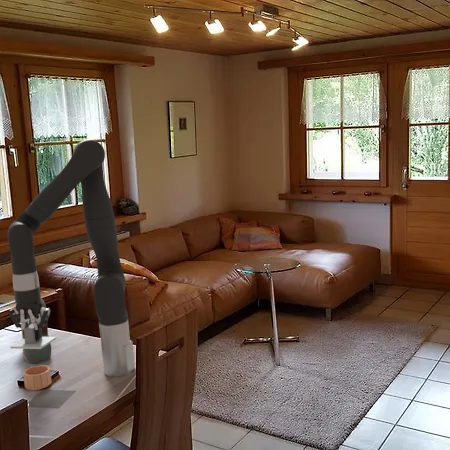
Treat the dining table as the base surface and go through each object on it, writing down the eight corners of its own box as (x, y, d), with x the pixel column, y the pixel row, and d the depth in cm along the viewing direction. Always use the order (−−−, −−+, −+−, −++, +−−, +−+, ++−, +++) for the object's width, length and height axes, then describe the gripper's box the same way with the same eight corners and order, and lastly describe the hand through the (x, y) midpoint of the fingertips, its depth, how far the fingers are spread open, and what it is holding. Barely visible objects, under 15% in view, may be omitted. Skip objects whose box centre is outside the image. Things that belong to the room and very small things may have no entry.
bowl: (56, 380, 188) (54, 365, 187) (43, 391, 180) (41, 376, 180) (33, 379, 190) (31, 364, 189) (20, 390, 182) (18, 375, 181)
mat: (76, 392, 179) (75, 390, 179) (58, 409, 168) (58, 408, 168) (43, 390, 181) (42, 389, 181) (23, 407, 170) (23, 406, 170)
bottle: (51, 362, 203) (41, 278, 198) (23, 366, 201) (13, 281, 196) (53, 352, 212) (44, 271, 207) (27, 355, 210) (17, 274, 205)
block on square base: (56, 338, 187) (55, 321, 186) (40, 349, 177) (39, 331, 176) (27, 338, 189) (26, 321, 188) (10, 348, 179) (8, 330, 178)
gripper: (53, 282, 182) (59, 336, 185) (12, 283, 184) (18, 335, 187) (41, 289, 174) (47, 345, 177) (-2, 289, 177) (5, 344, 180)
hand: (32, 339), depth 182 cm, fingers closed on block on square base, 3 cm apart
